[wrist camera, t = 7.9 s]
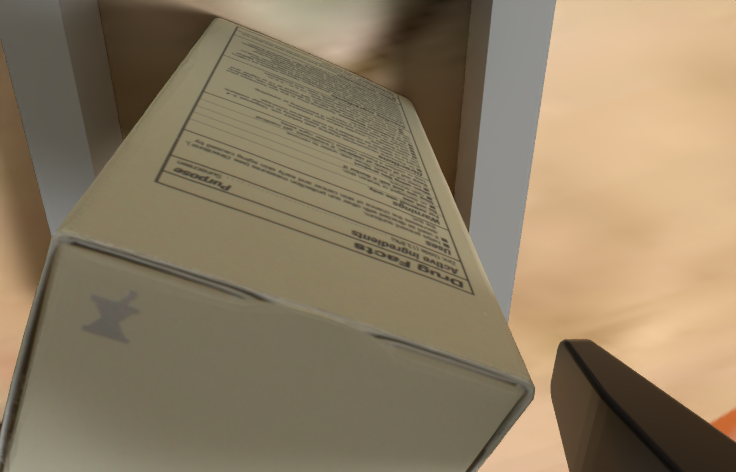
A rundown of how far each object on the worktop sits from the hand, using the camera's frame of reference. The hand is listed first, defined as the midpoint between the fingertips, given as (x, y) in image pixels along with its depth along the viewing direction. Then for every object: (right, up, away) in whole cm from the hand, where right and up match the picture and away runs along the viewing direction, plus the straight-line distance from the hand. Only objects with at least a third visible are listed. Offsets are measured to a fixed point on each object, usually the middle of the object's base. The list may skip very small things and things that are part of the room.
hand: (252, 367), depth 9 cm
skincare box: (0, +5, +10) cm, 11 cm away
